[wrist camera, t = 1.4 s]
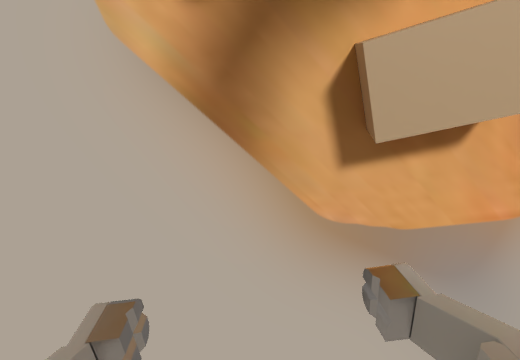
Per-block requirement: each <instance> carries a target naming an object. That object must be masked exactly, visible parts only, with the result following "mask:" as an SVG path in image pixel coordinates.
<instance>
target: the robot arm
mask: <svg viewBox="0 0 520 360" xmlns="http://www.w3.org/2000/svg"><path fill="white" fill-rule="evenodd" d="M363 278H364V280H365V281H366V283H365V284H364V286H363V287H362V295H363V300H364V304H365V306H366V309H367V310H368V312H369V314H371V315H372V316H374V317H375V318H376V326H377V328H378V329H379V331H380V333H381V335H382V336H383V338H384V340H385V341H394V340H403V339H410V340H411V341H412V342H414V343H415V344H416V345H418V346H419V347H420V348H421V349H423V350H424V351H425V352H427V353H428V354H429V355H431V356H432V357H433V358H435V359H436V360H520V330H518V329H516V328H514V327H511V326H509V325H507V324H505V323H503V322H501V321H498V320H496V319H494V318H492V317H490V316H488V315H486V314H484V313H481V312H479V311H477V310H475V309H472V308H471V307H469V306H466V305H464V304H462V303H460V302H458V301H455V300H453V299H451V298H449V297H447V296H445V295H443V294H436V293H435V292H434V291H433V290H432V289H431V288H430V287H429V286H428V285H427V284H426V283H425V281H424V280H423V279H422V278H421V277H420V276H419V275H418V274H417V273H416V272H415V271H414V270H413V269H412V268H411V267H410V266H409V265H408V264H407V263H398V264H392V265H386V266H379V267H372V268H366V269H364V272H363ZM143 308H144V306H143V303H142V300H141V299H132V300H122V301H113V302H107V303H99V304H95V305H94V306H92V307H91V309H90V310H89V312H88V313H87V315H86V316H85V318H84V320H83V321H82V323H81V324H80V326H79V327H78V329H77V331H76V332H75V334H74V335H73V337H72V339H71V340H70V342H69V343H68V345H67V346H65V347H61V348H60V349H59V350H57V351H56V352H55V353H53V354H52V355H51V356H49V358H47V359H46V360H141V356H140V353H139V352H140V351H141V350H142V349H143V348H144V347H145V346H146V343H147V340H148V336H149V321H148V318H147V316H146V315H144V314H143V313H142V311H143Z"/></svg>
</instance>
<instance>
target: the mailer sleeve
mask: <svg viewBox="0 0 520 360" xmlns="http://www.w3.org/2000/svg"><path fill="white" fill-rule="evenodd" d="M355 49H356V56H357V63H358V71H359V78H360V85H361V92H362V99H363V106H364V113H365V120H366V127H367V131H368V132H369V134H370V135H371V137H372V138H373V140H374V141H375V143H376V144H377V143H381V142H386V141H391V140H396V139H401V138H405V137H410V136H415V135H420V134H425V133H430V132H434V131H439V130H444V129H449V128H454V127H458V126H463V125H468V124H473V123H478V122H482V121H487V120H492V119H497V118H502V117H507V116H511V115H516V114H520V0H494V1H491V2H487V3H484V4H481V5H478V6H475V7H471V8H468V9H465V10H462V11H459V12H455V13H452V14H449V15H446V16H443V17H439V18H436V19H433V20H430V21H427V22H423V23H420V24H417V25H414V26H411V27H407V28H404V29H401V30H398V31H395V32H391V33H388V34H385V35H382V36H379V37H375V38H372V39H369V40H366V41H363V42H360V43H356V44H355Z"/></svg>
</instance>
